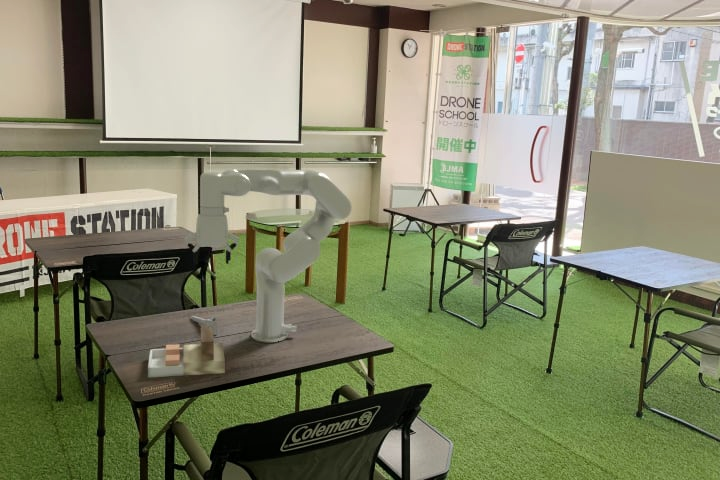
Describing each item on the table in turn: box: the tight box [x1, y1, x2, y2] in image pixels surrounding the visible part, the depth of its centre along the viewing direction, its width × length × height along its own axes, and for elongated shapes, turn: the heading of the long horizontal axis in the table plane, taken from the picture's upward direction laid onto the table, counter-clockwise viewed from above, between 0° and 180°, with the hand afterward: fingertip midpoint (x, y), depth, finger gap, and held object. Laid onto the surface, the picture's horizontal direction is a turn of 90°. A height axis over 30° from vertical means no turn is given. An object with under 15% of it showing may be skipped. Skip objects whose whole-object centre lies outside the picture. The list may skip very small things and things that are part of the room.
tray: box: [147, 347, 185, 378], centre depth 191 cm, size 10×14×3 cm
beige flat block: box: [183, 342, 226, 376], centre depth 194 cm, size 12×14×4 cm
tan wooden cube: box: [165, 355, 180, 366], centre depth 188 cm, size 4×4×4 cm
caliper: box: [189, 315, 218, 336], centre depth 225 cm, size 20×1×6 cm, turn 39°
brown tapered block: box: [200, 326, 215, 361], centre depth 193 cm, size 4×12×6 cm, turn 15°
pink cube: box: [165, 343, 180, 355], centre depth 195 cm, size 4×4×4 cm
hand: (212, 262), depth 204 cm, fingers open, 9 cm apart
